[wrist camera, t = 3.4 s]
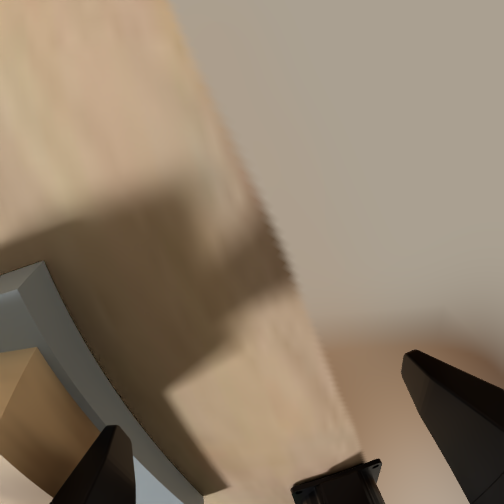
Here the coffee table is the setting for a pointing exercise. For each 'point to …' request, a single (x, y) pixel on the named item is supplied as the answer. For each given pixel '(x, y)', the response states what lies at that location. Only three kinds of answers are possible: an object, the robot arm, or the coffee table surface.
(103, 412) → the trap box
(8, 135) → the coffee table surface
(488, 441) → the robot arm
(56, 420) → the block
